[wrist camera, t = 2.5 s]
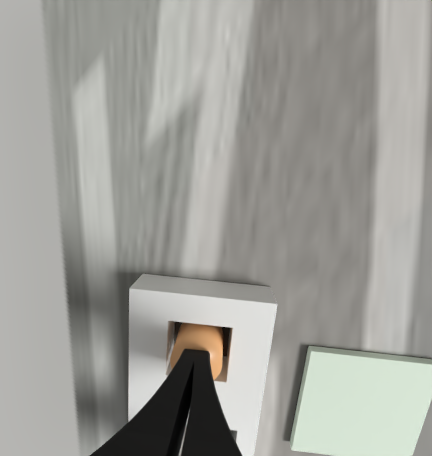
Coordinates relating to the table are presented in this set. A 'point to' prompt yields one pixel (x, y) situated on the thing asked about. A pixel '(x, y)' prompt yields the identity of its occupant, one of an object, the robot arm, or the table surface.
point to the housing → (207, 315)
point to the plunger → (200, 343)
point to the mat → (361, 403)
